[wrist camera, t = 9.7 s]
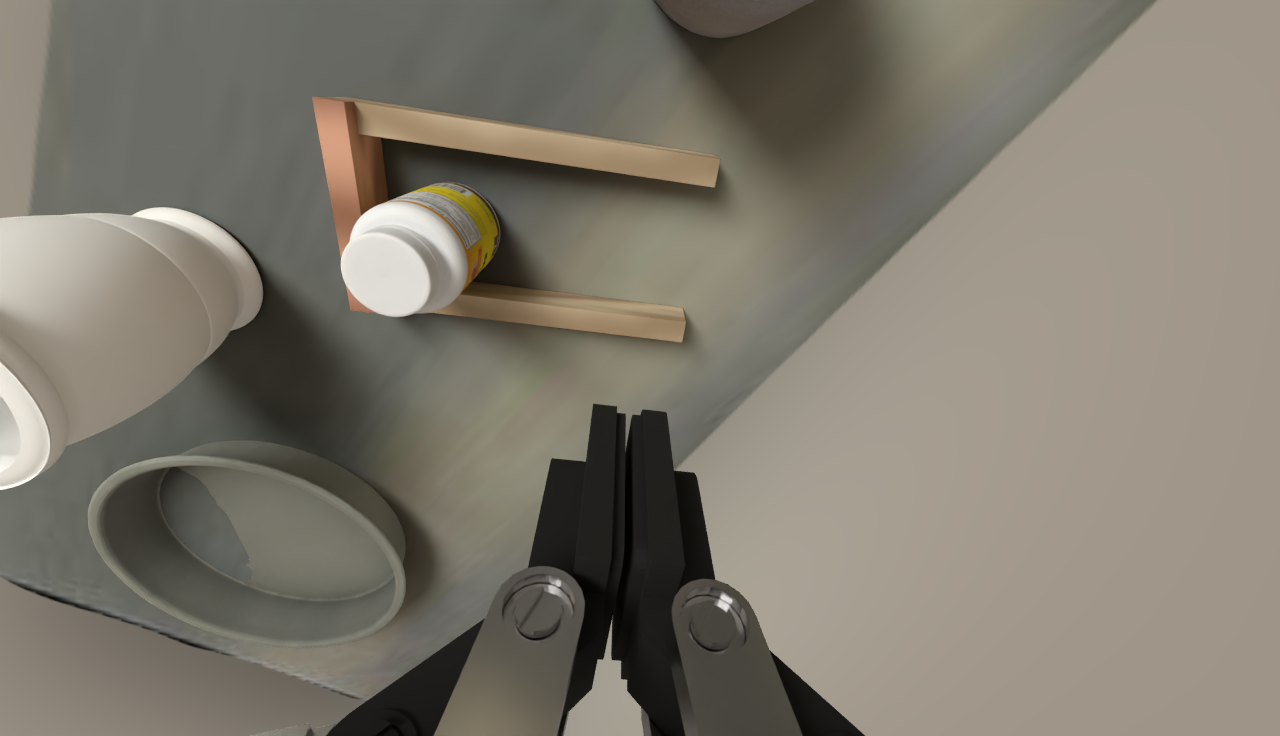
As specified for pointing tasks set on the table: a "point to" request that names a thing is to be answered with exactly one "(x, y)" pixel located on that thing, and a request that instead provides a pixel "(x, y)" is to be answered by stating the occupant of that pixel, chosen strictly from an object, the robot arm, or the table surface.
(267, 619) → the cake pan
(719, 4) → the pillar candle
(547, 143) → the channel
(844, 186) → the table surface
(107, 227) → the jar
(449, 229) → the supplement bottle
